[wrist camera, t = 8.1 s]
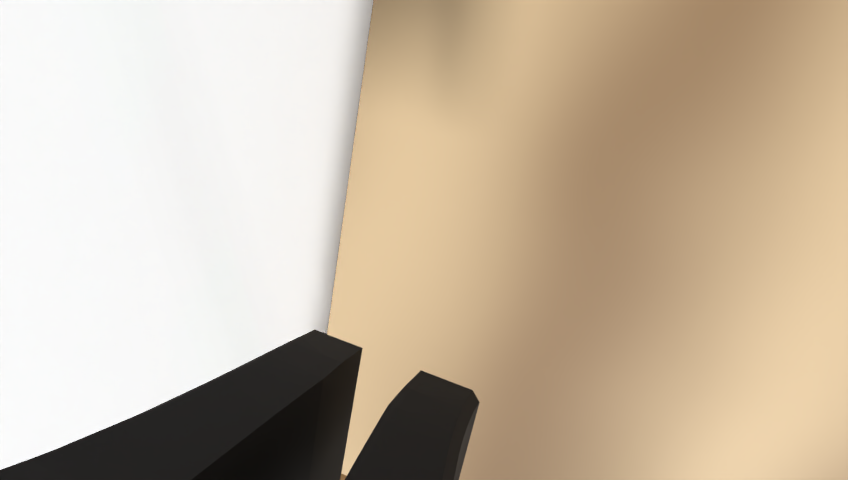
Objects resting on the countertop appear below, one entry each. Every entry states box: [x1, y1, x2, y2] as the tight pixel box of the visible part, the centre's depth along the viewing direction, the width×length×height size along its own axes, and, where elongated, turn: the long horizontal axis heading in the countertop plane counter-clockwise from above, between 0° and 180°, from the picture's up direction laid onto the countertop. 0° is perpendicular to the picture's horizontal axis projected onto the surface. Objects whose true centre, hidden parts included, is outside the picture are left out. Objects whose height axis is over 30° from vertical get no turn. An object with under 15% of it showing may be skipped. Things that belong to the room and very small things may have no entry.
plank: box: [327, 0, 848, 480], centre depth 13 cm, size 9×11×2 cm
